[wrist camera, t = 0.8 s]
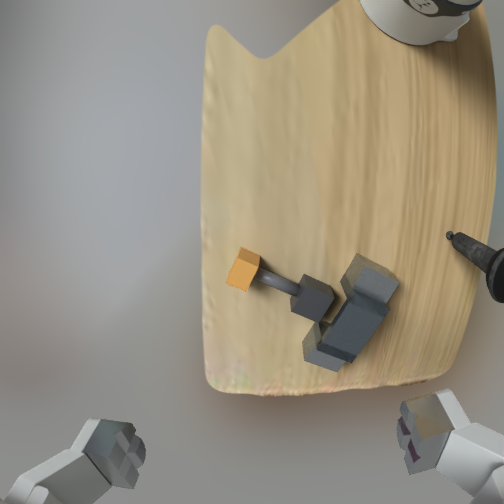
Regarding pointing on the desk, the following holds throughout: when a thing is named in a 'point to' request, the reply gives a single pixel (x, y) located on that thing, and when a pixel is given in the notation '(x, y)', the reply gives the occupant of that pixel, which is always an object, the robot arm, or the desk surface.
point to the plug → (283, 286)
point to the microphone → (483, 261)
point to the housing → (352, 315)
